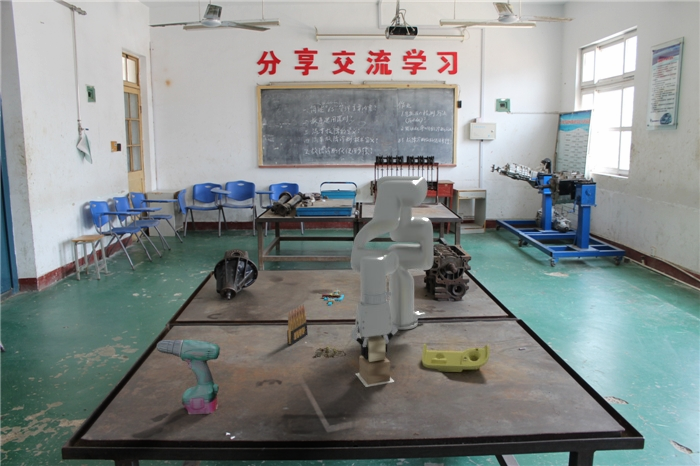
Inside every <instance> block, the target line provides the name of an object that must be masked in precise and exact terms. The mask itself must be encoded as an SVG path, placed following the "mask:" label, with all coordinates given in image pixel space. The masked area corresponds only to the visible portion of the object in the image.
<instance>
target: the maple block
mask: <svg viewBox="0 0 700 466" xmlns="http://www.w3.org/2000/svg"><path fill="white" fill-rule="evenodd" d="M367 347H368V359H367V360H368V361H369V362H372V361H378V360H384V359H386V358H387V352H386V350H385V339H384V338H383V337H382V336H381V335H379V336H372V337H369V338H368V342H367Z"/></svg>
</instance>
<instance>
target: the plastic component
mask: <svg viewBox="0 0 700 466" xmlns="http://www.w3.org/2000/svg"><path fill="white" fill-rule="evenodd" d="M489 358H490V345H489V344H486V345H484V347H482V348H478V347H475V348H473V347H471V348H467V349H465V350H464V351H463V350H462V351H461V350H460V351H459V350H457V351H456V350H430V349H428V346H427V343H423V346H422V354H421V362H422V363H421V364H422V366H423V367H425V368H427V369H435V370H437V371H439V372H442V373H443V372H446V373H463V370H471V371H474V370H475V371H478V369H481V368H482V367H483V366H484V365H486V364H487V362H488V361H489Z"/></svg>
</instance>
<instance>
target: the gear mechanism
mask: <svg viewBox="0 0 700 466" xmlns="http://www.w3.org/2000/svg"><path fill="white" fill-rule="evenodd" d="M322 297H323V298H324V299H323V300H324V301H327V305H328V306H332V304H335V301H338V302H339V301H343V299H344V297H345V295H344V294H341V290H339V289H336V290H333V293H329V294H327V293H326V294H322V295H321V298H322Z"/></svg>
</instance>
